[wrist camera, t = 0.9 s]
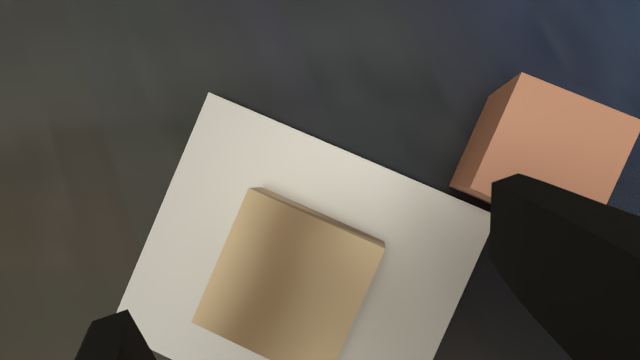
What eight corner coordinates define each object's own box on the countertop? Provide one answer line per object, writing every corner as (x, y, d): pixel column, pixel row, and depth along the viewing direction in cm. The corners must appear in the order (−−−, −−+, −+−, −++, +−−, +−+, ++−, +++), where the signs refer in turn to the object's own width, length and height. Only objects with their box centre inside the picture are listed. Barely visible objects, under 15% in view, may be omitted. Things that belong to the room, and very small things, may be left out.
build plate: (491, 214, 23) (497, 215, 22) (385, 451, 23) (386, 463, 22) (215, 96, 24) (208, 92, 23) (120, 322, 24) (109, 329, 23)
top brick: (583, 134, 22) (644, 121, 17) (541, 226, 23) (590, 239, 18) (488, 95, 23) (521, 72, 18) (448, 186, 23) (469, 188, 18)
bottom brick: (384, 241, 22) (385, 248, 20) (330, 363, 22) (325, 386, 20) (261, 187, 23) (248, 187, 20) (210, 307, 23) (191, 322, 21)
